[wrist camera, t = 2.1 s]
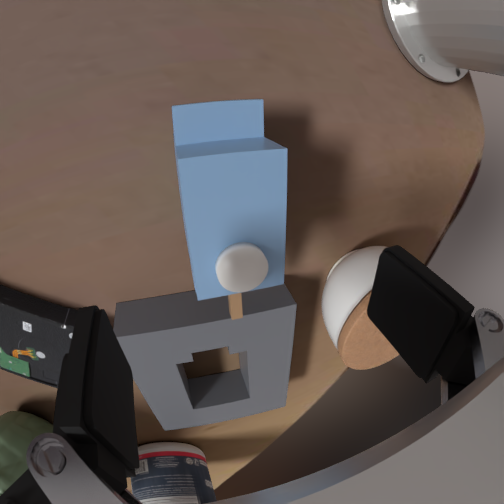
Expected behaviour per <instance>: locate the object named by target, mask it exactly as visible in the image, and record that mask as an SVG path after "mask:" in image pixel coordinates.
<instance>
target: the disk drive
mask: <svg viewBox="0 0 504 504" xmlns="http://www.w3.org/2000/svg"><path fill="white" fill-rule="evenodd" d="M77 313H78V310H75V309H72V308H66V307H63V306H60V305H57V304H53V303H51V302H48V301H44V300H41V299H39V298H35V297H33V296H30V295H27V294H24V293H21V292H18V291H16V290H13V289H10V288H7V287H5V286H3V285H0V369H2V370H5V371H8V372H10V373H13V374H16V375H18V376H21V377H24V378H27V379H30V380H33V381H36V382H39V383H42V384H46V385H49V386H52V387H55V388H58V383H59V377H60V371H61V366H62V360H63V357H64V355H65V354H66V353H69V349H70V344H71V339H72V334H73V330H74V325H75V321H76V317H77Z"/></svg>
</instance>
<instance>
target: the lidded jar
mask: <svg viewBox="0 0 504 504" xmlns="http://www.w3.org/2000/svg"><path fill="white" fill-rule="evenodd" d="M385 248H387V247H386V246H370V247H366V248H362V249H357V250H354V251H351V252H349V253H347V254H345V255H344V256H343V257H341V258H340V259H339V260H338V261H337V262H336V263H335V264H334V266H333V267H332V268H331V270H330V272H329V274H328V277H327V280H326V284H325V287H324V290H323V295H322V315H323V320H324V323H325V326H326V329H327V331H328V333H329V336H330V338H331V340H332V341H333V343H334V345H335V347H336V348H337V350H338V353H339V355H340V357H341V359H342V360H343V362H344V363H345V364H346V365H347V366H348V367H350V368H353V369H358V370H360V369H361V370H364V369H370V368H373V367H377V366H379V365H382V364H384V363H386V362H388V361H390V360H391V359H393V358H395V357H396V356H398V355H399V353H398V352H397V351H396V349H395V348H394V347H393V346H392V345H391V344H390V342H389V341H388V340H387V339H386V338H385V336H384V335H383V334H382V333H381V332H380V331H379V329H378V328H377V327H376V326H375V325H374V324H373V322H372V321H371V320H370V319H369V317H368V315H367V307H368V303H369V299H370V295H371V291H372V287H373V283H374V279H375V274H376V270H377V265H378V261H379V256H380V254H381V253H382V251H383V250H384V249H385Z"/></svg>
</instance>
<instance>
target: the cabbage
mask: <svg viewBox="0 0 504 504" xmlns="http://www.w3.org/2000/svg"><path fill="white" fill-rule="evenodd" d="M43 433H53V425H52V424H51V423H49V422H48V421H46V420H44V419H42V418H39V417H37V416H35V415H33V414H30V413H26V412H21V411H10V412H7V413H5V414H3V415H1V416H0V496H1V495H2V494H3V493H4V492H5V491H6V490H7V489H8V488H9V487H10V486H11V485H12V484H13V483H14V482H15V481H16V480H17V479H18V478H19V477H20V476H21V475H22V474H23V473H24V472H25V471H26V470H27V469H28V466H27V461H26V454H27V449H28V447H29V445H30V443H31V442H32V440H33V439H34V438H35V437H37V436H39V435H40V434H43Z"/></svg>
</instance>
